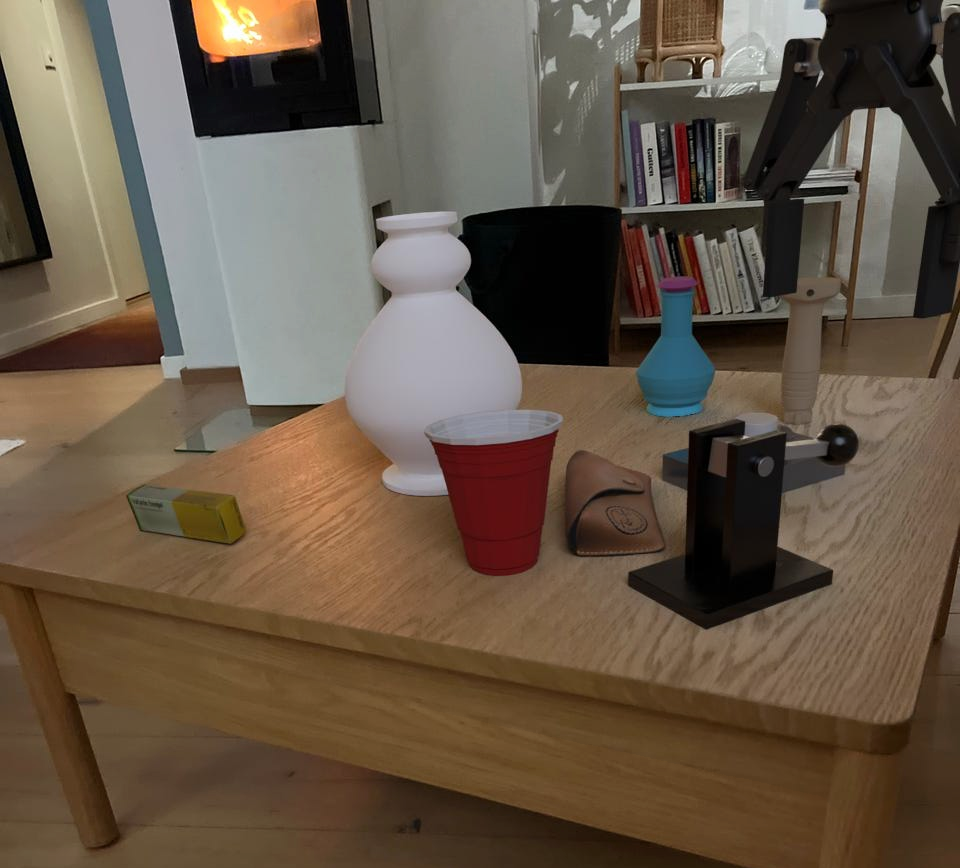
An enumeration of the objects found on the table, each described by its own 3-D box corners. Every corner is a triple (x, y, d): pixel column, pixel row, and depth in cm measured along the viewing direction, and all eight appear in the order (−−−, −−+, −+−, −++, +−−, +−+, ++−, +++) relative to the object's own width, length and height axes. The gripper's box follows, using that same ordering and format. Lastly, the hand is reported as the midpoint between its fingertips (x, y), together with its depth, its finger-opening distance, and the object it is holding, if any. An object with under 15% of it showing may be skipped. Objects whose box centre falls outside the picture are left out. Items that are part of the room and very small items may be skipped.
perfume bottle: (649, 397, 119) (650, 273, 112) (721, 401, 115) (727, 271, 108) (626, 417, 112) (626, 285, 105) (702, 421, 108) (707, 284, 101)
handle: (765, 416, 108) (775, 279, 101) (823, 415, 107) (838, 276, 100) (768, 428, 104) (778, 286, 97) (828, 427, 103) (844, 283, 96)
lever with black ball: (830, 459, 73) (838, 418, 72) (863, 469, 70) (872, 427, 69) (702, 475, 67) (708, 430, 66) (732, 486, 65) (739, 440, 63)
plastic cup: (553, 529, 83) (547, 393, 77) (582, 578, 73) (578, 428, 68) (432, 544, 82) (417, 408, 76) (445, 596, 72) (429, 445, 67)
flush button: (755, 427, 91) (757, 410, 90) (786, 436, 88) (787, 418, 87) (724, 436, 89) (725, 418, 89) (753, 445, 86) (754, 426, 85)
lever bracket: (747, 547, 76) (756, 403, 71) (832, 584, 69) (850, 427, 64) (627, 585, 72) (627, 435, 66) (706, 630, 65) (713, 465, 59)
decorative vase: (486, 440, 108) (469, 203, 97) (555, 482, 94) (545, 209, 82) (338, 469, 103) (300, 222, 91) (387, 518, 88) (349, 231, 76)
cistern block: (769, 451, 97) (772, 408, 95) (844, 475, 89) (850, 428, 87) (661, 480, 92) (662, 436, 90) (732, 509, 84) (734, 460, 82)
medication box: (137, 532, 90) (123, 494, 88) (157, 519, 92) (143, 482, 90) (230, 545, 85) (217, 505, 83) (249, 531, 87) (237, 492, 85)
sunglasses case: (672, 547, 76) (630, 482, 74) (598, 590, 78) (555, 528, 76) (651, 475, 92) (616, 420, 89) (590, 513, 94) (554, 459, 92)
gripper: (702, -33, 64) (691, 294, 74) (1050, -127, 44) (971, 335, 54) (784, -33, 67) (763, 281, 77) (1145, -122, 47) (1054, 316, 57)
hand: (849, 304), depth 66 cm, fingers open, 13 cm apart
